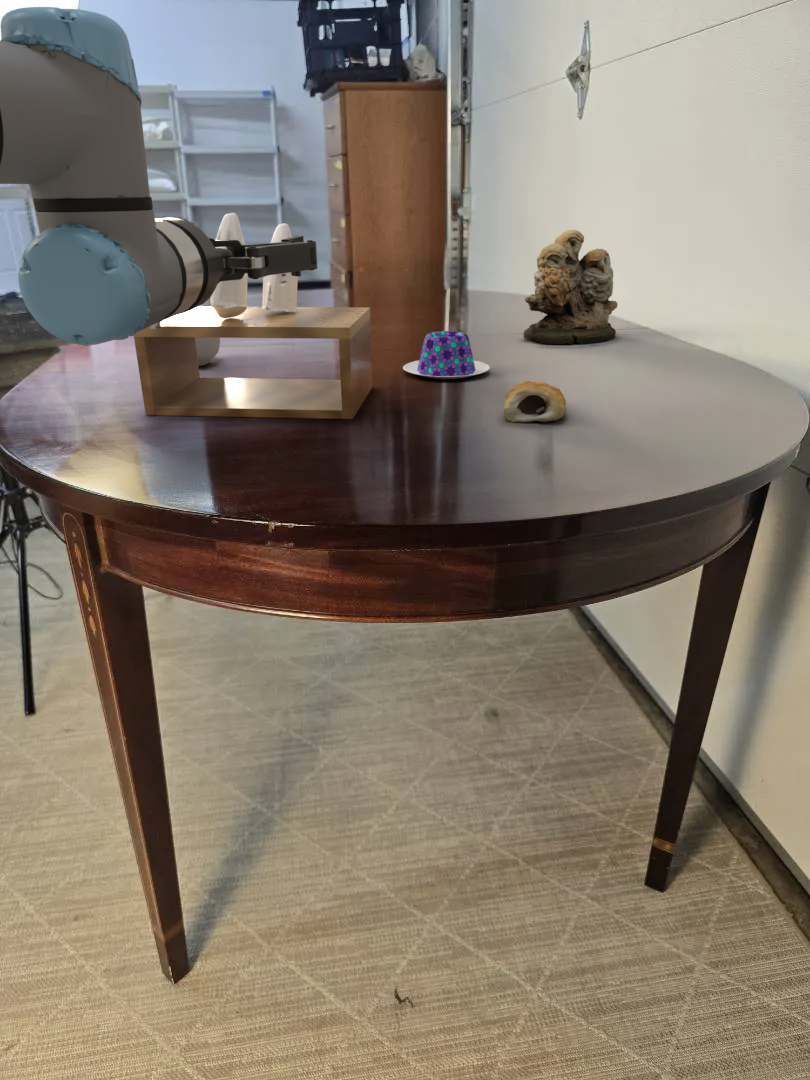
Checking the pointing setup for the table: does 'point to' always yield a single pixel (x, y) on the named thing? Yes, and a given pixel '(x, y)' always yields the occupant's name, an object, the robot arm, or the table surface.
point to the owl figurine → (572, 293)
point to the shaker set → (233, 293)
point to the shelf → (184, 393)
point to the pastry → (534, 402)
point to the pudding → (446, 357)
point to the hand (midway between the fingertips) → (238, 249)
